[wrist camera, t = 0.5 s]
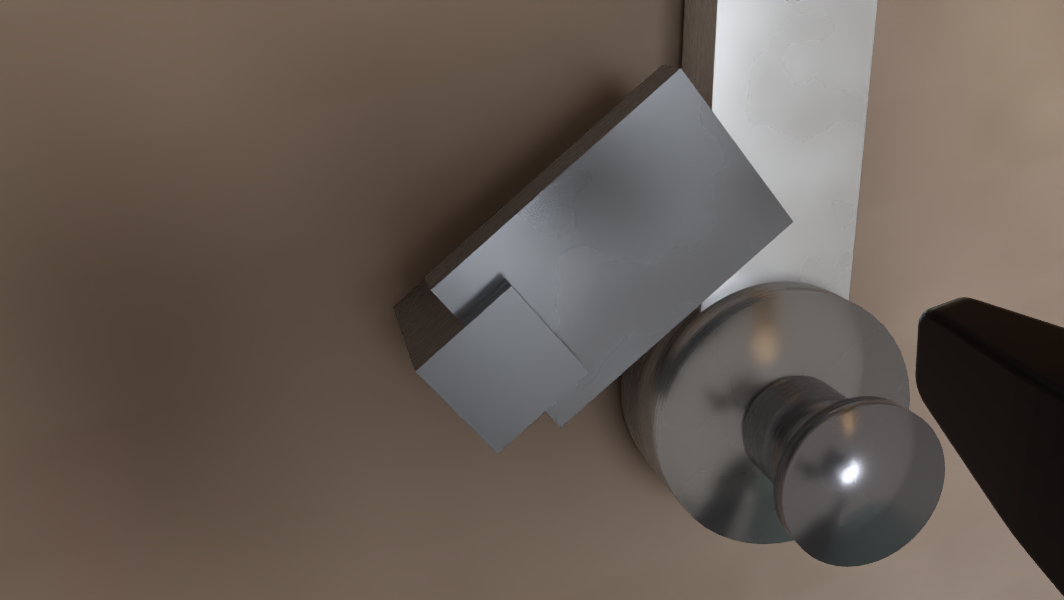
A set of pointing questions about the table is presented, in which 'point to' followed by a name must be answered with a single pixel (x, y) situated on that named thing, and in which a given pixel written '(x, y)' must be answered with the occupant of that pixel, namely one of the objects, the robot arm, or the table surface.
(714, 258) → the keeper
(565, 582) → the table surface
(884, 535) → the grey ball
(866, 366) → the link
